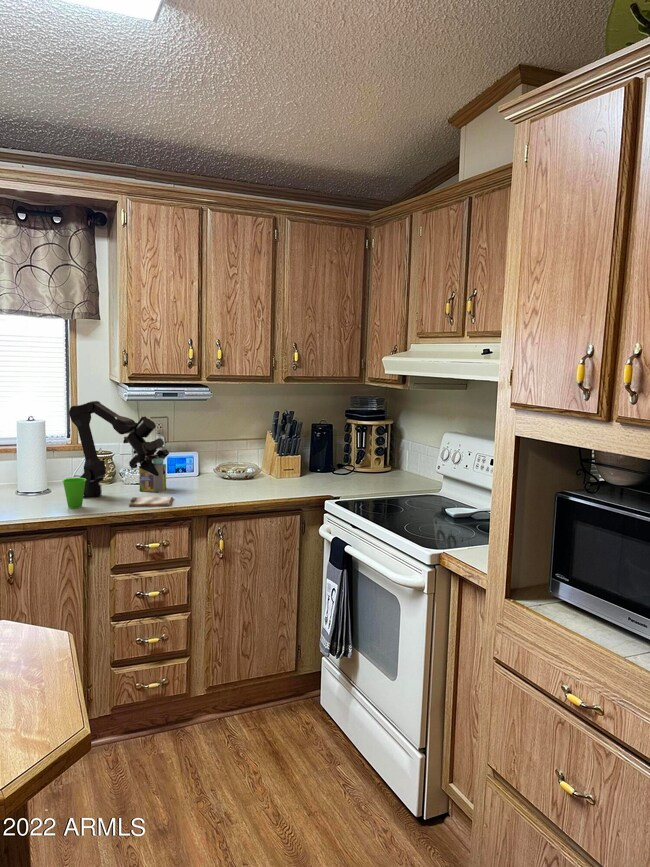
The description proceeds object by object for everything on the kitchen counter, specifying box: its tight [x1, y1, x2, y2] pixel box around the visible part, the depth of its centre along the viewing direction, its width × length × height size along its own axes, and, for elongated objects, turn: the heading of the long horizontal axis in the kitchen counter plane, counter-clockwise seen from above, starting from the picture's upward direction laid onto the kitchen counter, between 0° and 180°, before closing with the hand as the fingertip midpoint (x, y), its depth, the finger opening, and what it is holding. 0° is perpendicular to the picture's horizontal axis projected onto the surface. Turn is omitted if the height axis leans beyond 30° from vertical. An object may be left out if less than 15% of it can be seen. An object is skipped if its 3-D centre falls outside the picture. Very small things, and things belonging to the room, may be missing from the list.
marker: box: [154, 458, 164, 492], centre depth 263 cm, size 4×4×13 cm
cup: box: [61, 477, 86, 509], centre depth 261 cm, size 9×9×11 cm
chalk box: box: [138, 462, 167, 493], centre depth 294 cm, size 9×9×15 cm
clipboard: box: [128, 496, 173, 508], centre depth 272 cm, size 16×13×2 cm
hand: (161, 474), depth 263 cm, fingers closed on marker, 4 cm apart
